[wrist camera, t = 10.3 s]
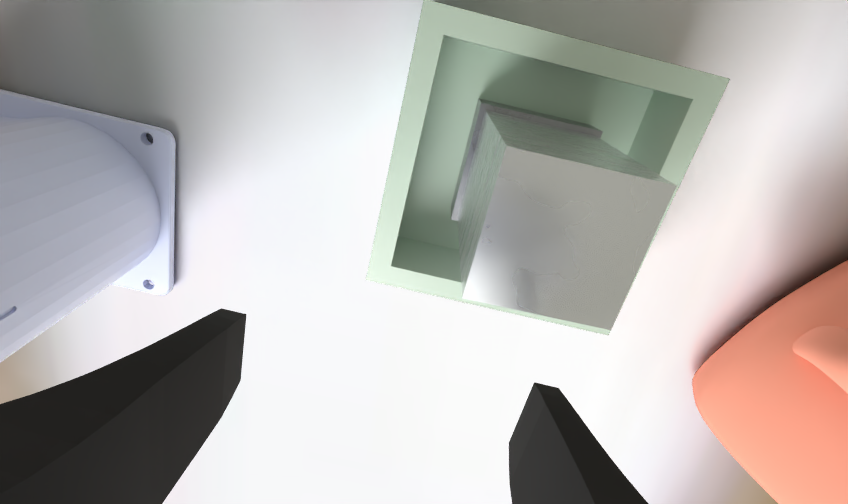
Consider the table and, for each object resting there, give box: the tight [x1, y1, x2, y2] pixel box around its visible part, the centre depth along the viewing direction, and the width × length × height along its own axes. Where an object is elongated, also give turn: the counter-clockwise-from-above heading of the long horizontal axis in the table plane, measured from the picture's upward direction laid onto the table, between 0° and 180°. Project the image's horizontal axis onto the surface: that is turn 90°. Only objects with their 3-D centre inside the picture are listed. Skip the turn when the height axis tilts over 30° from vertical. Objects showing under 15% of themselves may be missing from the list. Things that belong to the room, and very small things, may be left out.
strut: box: [451, 98, 677, 330], centre depth 15 cm, size 4×4×8 cm
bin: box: [366, 0, 730, 335], centre depth 18 cm, size 10×10×4 cm
